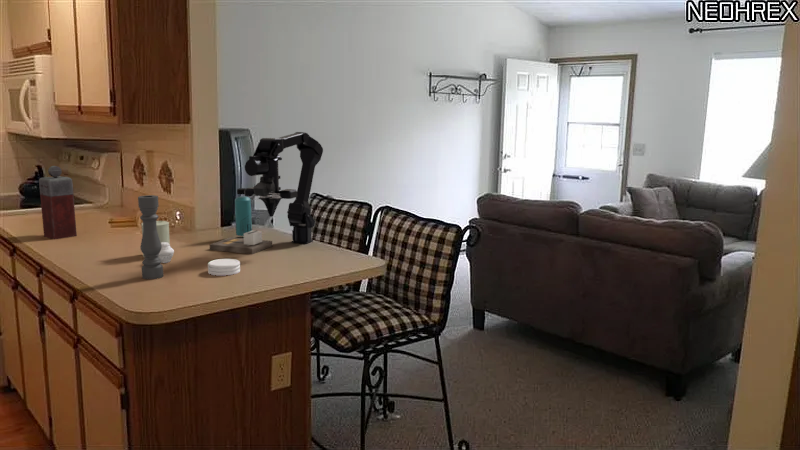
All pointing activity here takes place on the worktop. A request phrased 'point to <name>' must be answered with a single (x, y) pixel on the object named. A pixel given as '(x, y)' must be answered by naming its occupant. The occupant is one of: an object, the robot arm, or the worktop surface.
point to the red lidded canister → (57, 205)
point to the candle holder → (150, 238)
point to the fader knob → (252, 237)
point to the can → (162, 231)
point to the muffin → (166, 252)
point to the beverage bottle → (243, 213)
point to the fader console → (239, 246)
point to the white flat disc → (223, 267)
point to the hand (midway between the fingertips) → (271, 216)
